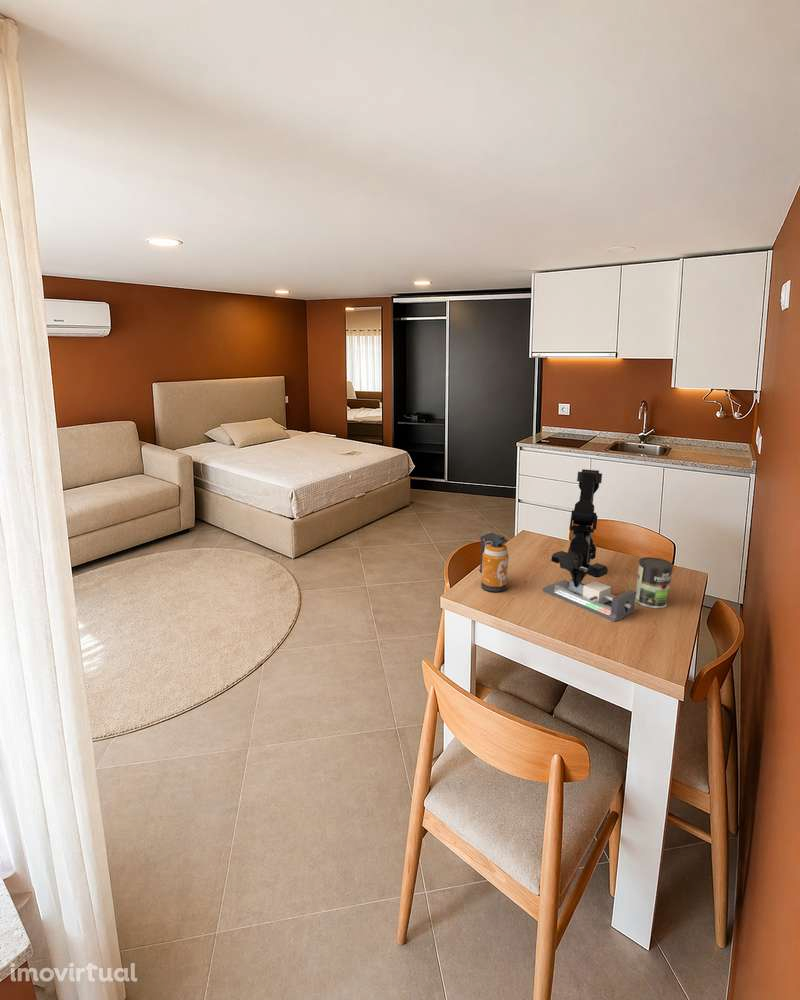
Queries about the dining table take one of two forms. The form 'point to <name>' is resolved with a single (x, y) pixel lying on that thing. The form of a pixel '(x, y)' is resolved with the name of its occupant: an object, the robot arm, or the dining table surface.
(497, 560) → the canister
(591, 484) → the robot arm
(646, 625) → the dining table surface
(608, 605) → the gauge track
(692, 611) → the dining table surface
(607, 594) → the white cube with rod
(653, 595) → the coffee can
